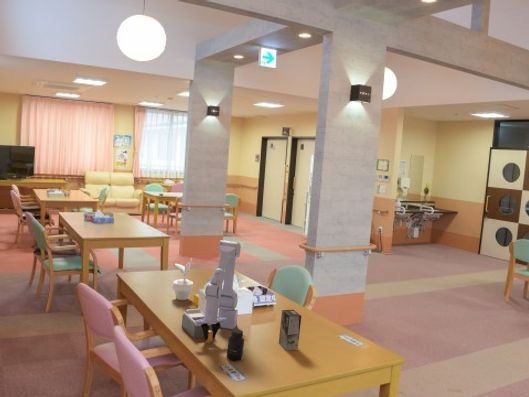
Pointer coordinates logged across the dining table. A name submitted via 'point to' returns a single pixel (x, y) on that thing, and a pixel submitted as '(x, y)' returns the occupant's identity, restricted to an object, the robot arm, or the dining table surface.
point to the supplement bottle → (235, 345)
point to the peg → (210, 337)
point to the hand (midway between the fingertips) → (209, 339)
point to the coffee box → (289, 329)
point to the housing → (193, 326)
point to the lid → (195, 313)
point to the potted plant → (183, 283)
